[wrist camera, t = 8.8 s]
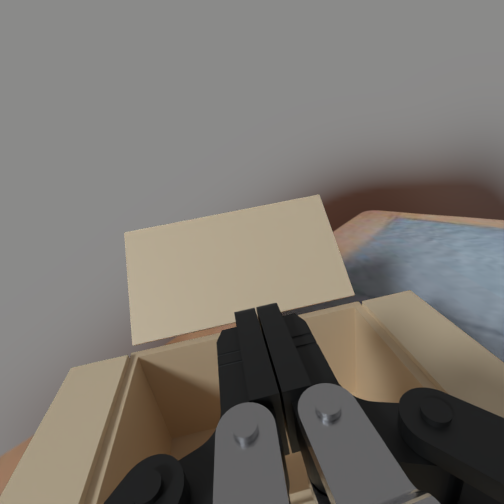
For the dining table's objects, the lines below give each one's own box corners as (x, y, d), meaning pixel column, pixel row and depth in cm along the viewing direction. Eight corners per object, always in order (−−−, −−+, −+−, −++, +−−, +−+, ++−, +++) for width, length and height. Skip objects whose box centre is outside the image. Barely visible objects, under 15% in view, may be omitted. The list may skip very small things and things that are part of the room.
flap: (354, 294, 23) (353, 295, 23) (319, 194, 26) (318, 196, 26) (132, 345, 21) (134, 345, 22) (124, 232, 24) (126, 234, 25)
